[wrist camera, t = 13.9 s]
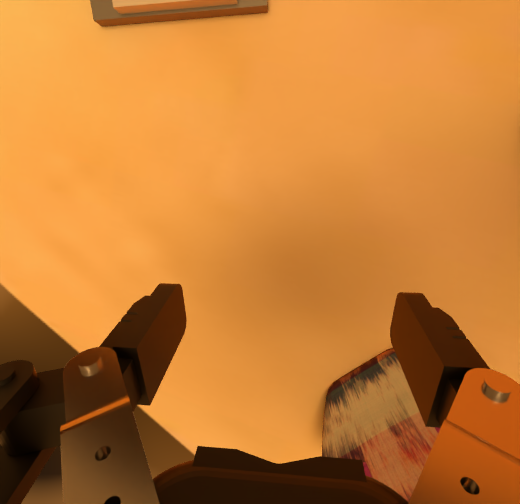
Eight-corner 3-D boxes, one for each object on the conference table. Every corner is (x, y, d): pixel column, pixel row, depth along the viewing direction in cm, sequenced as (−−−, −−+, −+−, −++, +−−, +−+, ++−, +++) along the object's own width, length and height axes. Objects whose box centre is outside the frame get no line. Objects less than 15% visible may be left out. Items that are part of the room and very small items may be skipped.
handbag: (432, 321, 40) (664, 567, 16) (471, 374, 42) (730, 665, 18) (296, 403, 45) (318, 687, 21) (337, 447, 47) (400, 755, 23)
